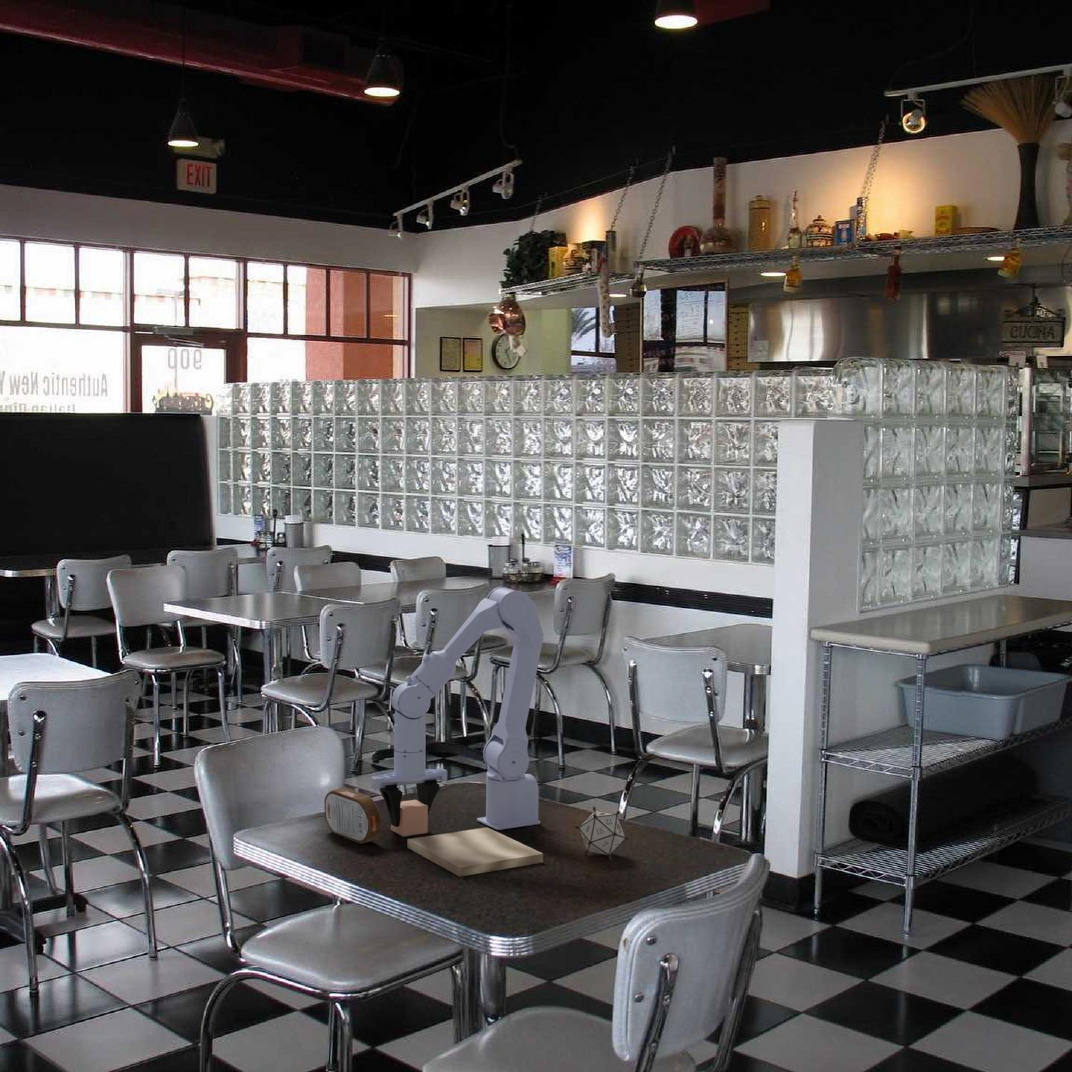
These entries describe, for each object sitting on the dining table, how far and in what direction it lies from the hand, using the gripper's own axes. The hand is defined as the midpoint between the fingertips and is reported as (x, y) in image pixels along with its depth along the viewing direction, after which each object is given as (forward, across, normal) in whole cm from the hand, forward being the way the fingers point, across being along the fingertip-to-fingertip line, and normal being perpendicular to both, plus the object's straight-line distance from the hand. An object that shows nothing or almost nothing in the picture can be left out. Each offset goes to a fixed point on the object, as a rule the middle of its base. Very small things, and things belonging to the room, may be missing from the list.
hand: (409, 823), depth 239 cm
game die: (+2, -22, +30) cm, 37 cm away
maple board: (+1, -3, +19) cm, 19 cm away
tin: (+2, +11, -1) cm, 11 cm away
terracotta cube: (+2, 0, 0) cm, 2 cm away
